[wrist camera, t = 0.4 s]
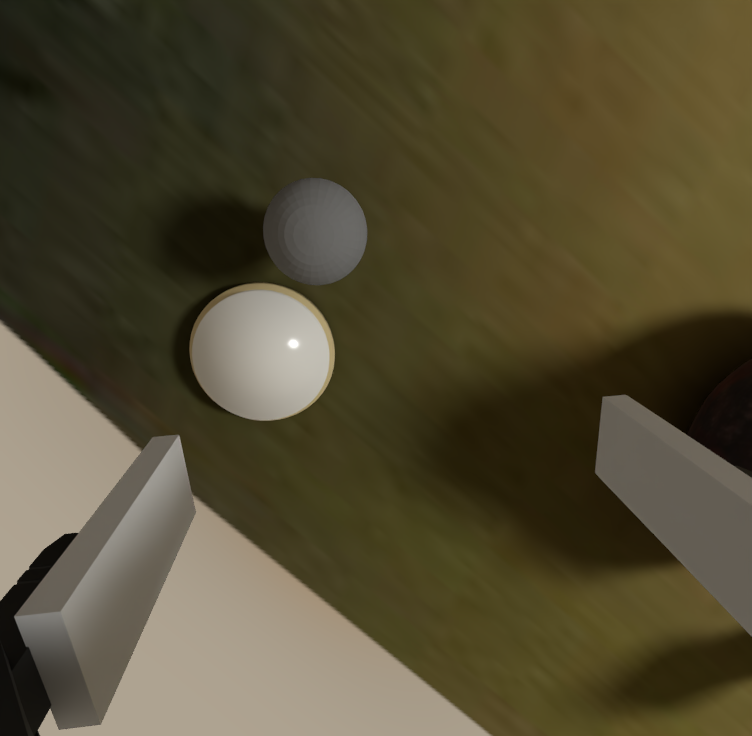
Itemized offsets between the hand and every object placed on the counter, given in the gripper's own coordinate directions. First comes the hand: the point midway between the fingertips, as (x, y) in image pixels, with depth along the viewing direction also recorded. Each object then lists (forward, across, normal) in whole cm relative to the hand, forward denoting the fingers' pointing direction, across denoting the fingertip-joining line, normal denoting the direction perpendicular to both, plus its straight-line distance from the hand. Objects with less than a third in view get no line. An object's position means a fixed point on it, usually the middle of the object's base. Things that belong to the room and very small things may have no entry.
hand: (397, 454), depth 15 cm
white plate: (+23, -8, -3) cm, 25 cm away
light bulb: (+23, -3, +6) cm, 24 cm away
